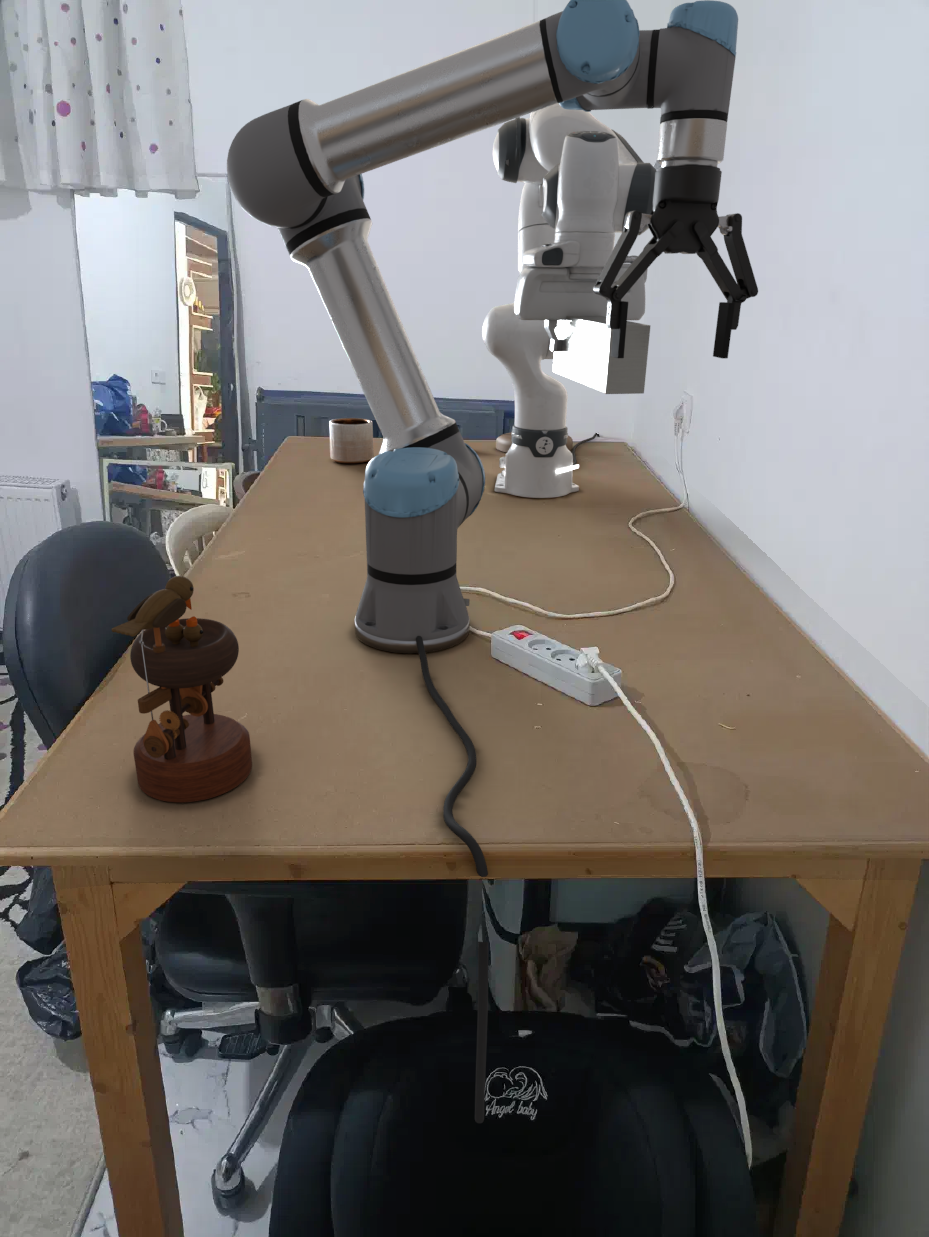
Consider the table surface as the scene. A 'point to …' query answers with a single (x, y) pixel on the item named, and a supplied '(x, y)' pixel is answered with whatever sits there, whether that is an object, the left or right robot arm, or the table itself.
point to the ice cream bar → (505, 442)
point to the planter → (351, 440)
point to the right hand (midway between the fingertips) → (577, 351)
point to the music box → (184, 700)
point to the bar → (602, 355)
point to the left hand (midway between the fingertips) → (669, 357)
